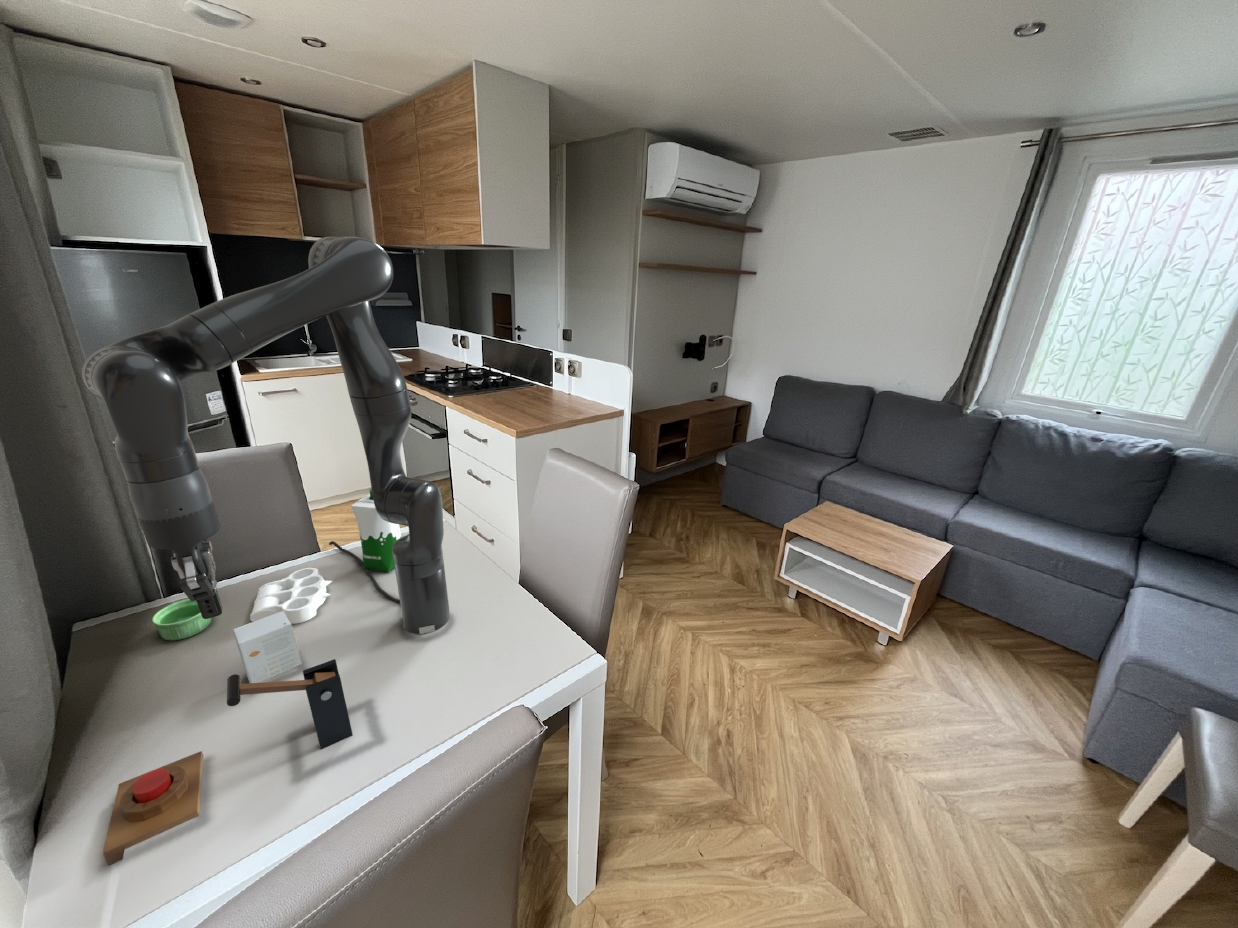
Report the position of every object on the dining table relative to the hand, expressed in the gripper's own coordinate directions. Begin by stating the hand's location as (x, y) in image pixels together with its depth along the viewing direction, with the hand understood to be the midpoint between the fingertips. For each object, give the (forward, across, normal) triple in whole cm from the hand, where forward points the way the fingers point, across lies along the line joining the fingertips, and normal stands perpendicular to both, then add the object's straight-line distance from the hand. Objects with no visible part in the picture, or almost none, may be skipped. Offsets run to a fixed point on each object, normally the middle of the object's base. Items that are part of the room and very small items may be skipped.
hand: (213, 614), depth 70 cm
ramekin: (+24, +39, +11) cm, 47 cm away
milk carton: (+25, +43, -28) cm, 57 cm away
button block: (+23, -7, +11) cm, 26 cm away
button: (+20, -7, +11) cm, 23 cm away
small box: (+24, +14, -3) cm, 28 cm away
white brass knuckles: (+24, +37, -8) cm, 45 cm away
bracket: (+24, -8, -10) cm, 27 cm away
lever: (+12, -8, -5) cm, 15 cm away
